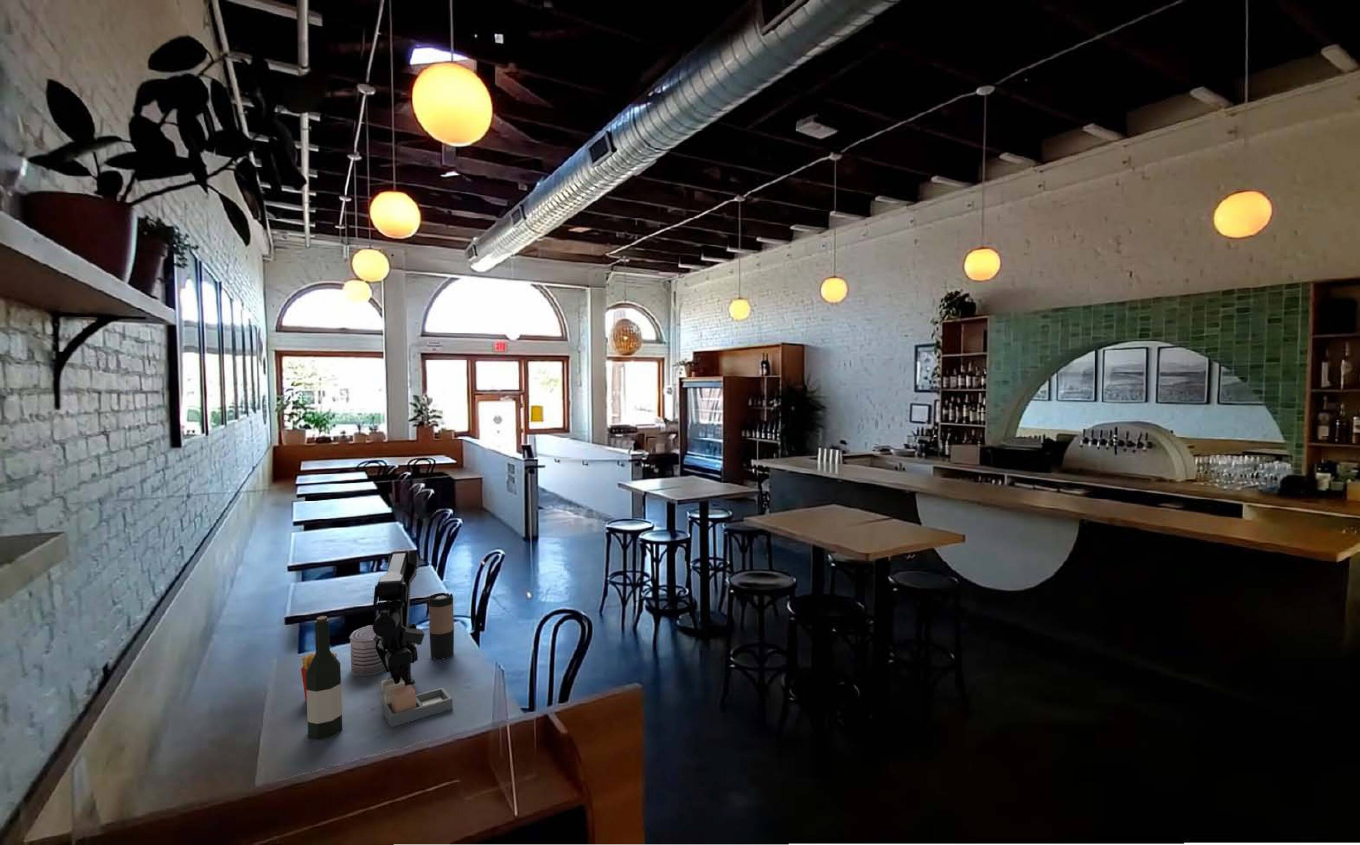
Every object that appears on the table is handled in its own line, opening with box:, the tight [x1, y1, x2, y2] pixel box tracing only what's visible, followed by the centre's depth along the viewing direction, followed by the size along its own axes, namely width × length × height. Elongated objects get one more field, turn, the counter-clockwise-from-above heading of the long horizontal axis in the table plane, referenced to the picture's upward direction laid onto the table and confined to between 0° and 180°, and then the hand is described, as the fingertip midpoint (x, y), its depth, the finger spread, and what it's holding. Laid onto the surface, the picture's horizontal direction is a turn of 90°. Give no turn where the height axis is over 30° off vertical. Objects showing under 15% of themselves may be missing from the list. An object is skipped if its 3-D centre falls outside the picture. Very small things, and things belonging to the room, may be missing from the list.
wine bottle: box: [306, 615, 343, 740], centre depth 167 cm, size 8×8×30 cm
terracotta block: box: [391, 684, 417, 714], centre depth 175 cm, size 5×5×6 cm
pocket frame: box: [382, 687, 454, 728], centre depth 178 cm, size 8×16×3 cm, turn 127°
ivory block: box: [381, 677, 406, 705], centre depth 183 cm, size 5×5×6 cm
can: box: [348, 624, 386, 677], centre depth 205 cm, size 11×11×12 cm
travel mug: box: [428, 592, 455, 660], centre depth 215 cm, size 8×8×20 cm
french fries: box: [300, 652, 338, 702], centre depth 185 cm, size 9×4×13 cm, turn 99°
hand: (393, 677), depth 183 cm, fingers open, 9 cm apart
